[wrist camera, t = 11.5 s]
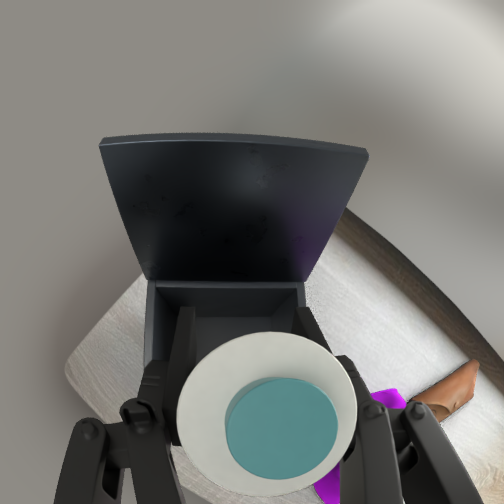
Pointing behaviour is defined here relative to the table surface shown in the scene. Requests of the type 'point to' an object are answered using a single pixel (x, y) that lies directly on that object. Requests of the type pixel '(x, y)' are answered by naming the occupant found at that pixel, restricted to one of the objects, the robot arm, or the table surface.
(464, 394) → the sunglasses case
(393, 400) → the cloth
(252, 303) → the dark grey open box
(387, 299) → the table surface
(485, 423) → the table surface
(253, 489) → the white bottle
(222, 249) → the lid
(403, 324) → the table surface
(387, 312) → the table surface
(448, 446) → the robot arm
